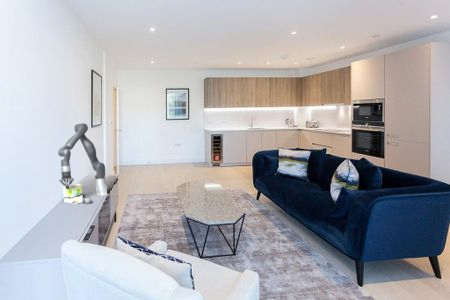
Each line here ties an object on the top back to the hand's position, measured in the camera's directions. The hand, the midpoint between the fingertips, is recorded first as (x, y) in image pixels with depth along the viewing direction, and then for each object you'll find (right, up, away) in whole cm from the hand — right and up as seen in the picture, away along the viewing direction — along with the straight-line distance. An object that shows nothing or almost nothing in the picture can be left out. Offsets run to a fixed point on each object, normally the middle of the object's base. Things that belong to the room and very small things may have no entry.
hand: (67, 189), depth 326 cm
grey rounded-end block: (+18, -13, +2) cm, 23 cm away
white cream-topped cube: (+11, -12, +1) cm, 16 cm away
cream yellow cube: (+6, -11, +6) cm, 14 cm away
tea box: (-1, -13, +17) cm, 21 cm away
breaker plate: (+11, -13, +7) cm, 18 cm away
